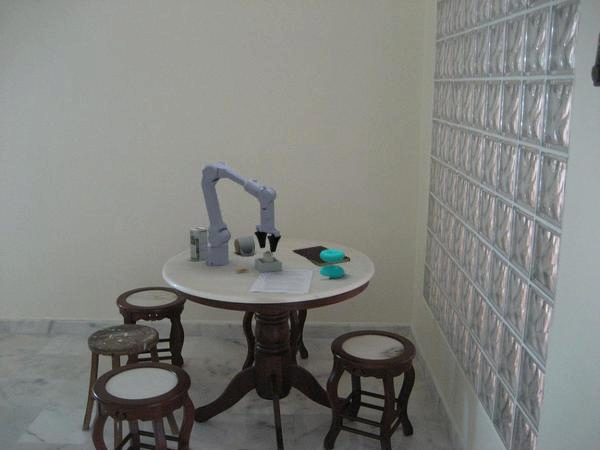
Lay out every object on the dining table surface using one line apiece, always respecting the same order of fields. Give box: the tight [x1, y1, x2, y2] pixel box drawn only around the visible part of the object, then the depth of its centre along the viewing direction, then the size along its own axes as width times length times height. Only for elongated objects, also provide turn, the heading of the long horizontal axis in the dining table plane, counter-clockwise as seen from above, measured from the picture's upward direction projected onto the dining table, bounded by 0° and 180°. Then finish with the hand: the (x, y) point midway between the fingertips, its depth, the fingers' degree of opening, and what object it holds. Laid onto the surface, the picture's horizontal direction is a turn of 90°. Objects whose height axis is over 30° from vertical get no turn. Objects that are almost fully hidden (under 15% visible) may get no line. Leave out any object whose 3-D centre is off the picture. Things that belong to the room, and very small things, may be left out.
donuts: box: [319, 248, 346, 279], centre depth 269 cm, size 10×10×10 cm
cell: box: [262, 250, 274, 264], centre depth 274 cm, size 4×4×7 cm
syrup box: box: [189, 226, 209, 263], centre depth 290 cm, size 6×6×14 cm
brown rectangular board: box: [234, 268, 251, 275], centre depth 274 cm, size 20×13×1 cm, turn 109°
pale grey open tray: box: [254, 256, 283, 273], centre depth 275 cm, size 9×9×4 cm
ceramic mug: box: [233, 235, 256, 257], centre depth 301 cm, size 11×8×8 cm
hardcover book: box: [292, 245, 351, 267], centre depth 295 cm, size 16×23×2 cm
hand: (267, 249), depth 273 cm, fingers open, 7 cm apart
